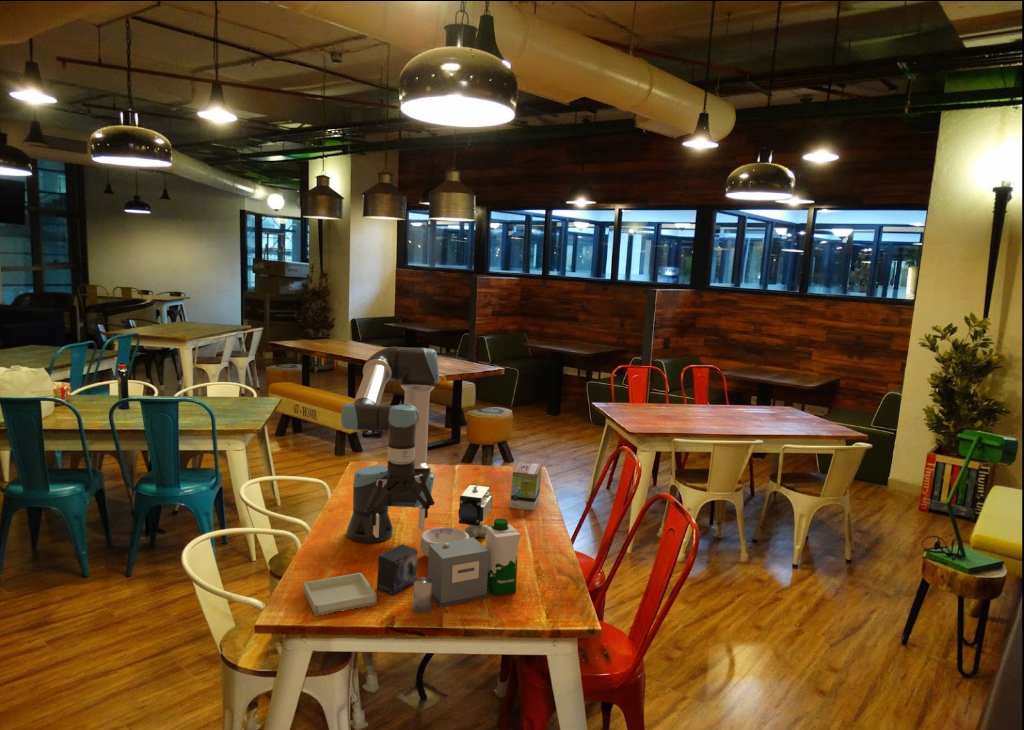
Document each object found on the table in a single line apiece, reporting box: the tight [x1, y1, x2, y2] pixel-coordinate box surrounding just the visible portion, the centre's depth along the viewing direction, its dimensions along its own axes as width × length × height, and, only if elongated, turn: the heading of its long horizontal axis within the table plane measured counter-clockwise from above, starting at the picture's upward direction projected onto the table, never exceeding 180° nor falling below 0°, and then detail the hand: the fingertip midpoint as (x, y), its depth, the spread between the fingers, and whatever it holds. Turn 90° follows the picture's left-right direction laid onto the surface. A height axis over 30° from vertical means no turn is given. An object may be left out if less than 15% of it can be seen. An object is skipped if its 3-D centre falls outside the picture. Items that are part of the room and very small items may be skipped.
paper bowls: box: [420, 527, 469, 559], centre depth 222 cm, size 15×15×8 cm
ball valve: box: [457, 483, 493, 539], centre depth 240 cm, size 18×8×18 cm, turn 168°
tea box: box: [509, 461, 543, 511], centre depth 275 cm, size 15×10×15 cm
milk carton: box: [485, 518, 521, 597], centre depth 202 cm, size 9×9×20 cm
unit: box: [427, 537, 490, 609], centre depth 198 cm, size 11×15×15 cm
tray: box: [302, 572, 378, 617], centre depth 193 cm, size 14×16×3 cm
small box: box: [376, 543, 418, 596], centre depth 201 cm, size 11×6×10 cm, turn 148°
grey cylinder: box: [412, 576, 433, 614], centre depth 190 cm, size 5×5×8 cm
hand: (398, 532), depth 200 cm, fingers open, 13 cm apart
